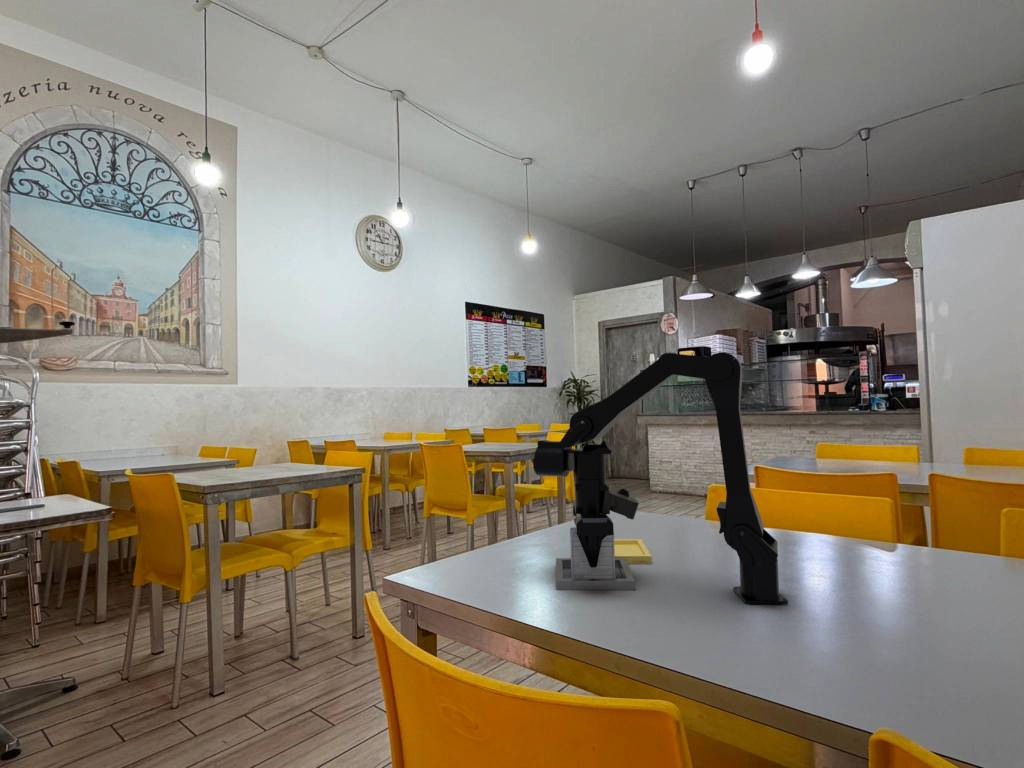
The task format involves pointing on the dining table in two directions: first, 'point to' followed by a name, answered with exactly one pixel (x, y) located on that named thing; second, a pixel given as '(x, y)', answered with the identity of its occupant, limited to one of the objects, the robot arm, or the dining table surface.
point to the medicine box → (581, 564)
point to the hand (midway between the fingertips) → (592, 563)
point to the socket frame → (594, 584)
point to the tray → (632, 551)
